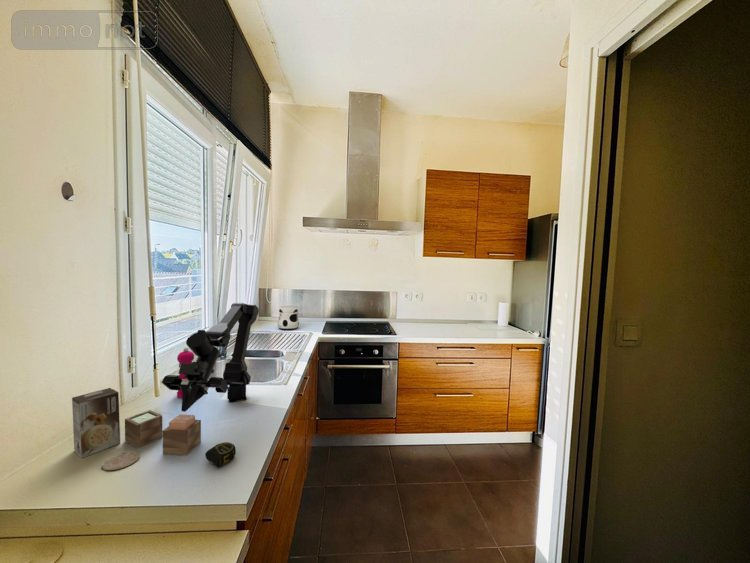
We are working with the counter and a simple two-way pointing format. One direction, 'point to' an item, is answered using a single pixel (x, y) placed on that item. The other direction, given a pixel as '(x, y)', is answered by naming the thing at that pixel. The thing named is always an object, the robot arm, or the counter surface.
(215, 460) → the tape measure
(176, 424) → the pink dotted cube
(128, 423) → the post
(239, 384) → the robot arm
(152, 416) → the pale green cube
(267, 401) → the counter surface
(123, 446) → the counter surface
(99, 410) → the coffee box
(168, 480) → the counter surface
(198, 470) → the counter surface
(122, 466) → the flatbread
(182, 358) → the pepper mill
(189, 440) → the wooden box
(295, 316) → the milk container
